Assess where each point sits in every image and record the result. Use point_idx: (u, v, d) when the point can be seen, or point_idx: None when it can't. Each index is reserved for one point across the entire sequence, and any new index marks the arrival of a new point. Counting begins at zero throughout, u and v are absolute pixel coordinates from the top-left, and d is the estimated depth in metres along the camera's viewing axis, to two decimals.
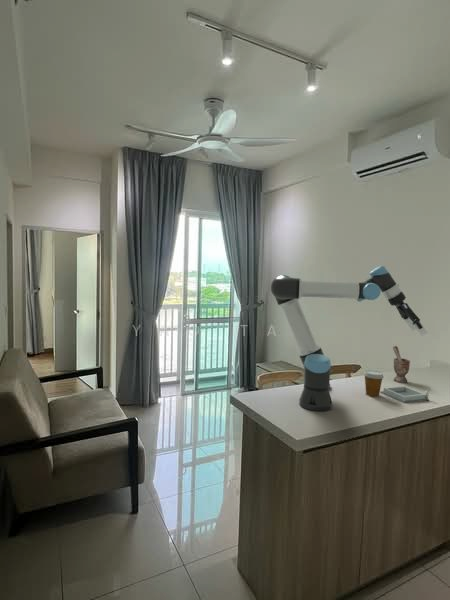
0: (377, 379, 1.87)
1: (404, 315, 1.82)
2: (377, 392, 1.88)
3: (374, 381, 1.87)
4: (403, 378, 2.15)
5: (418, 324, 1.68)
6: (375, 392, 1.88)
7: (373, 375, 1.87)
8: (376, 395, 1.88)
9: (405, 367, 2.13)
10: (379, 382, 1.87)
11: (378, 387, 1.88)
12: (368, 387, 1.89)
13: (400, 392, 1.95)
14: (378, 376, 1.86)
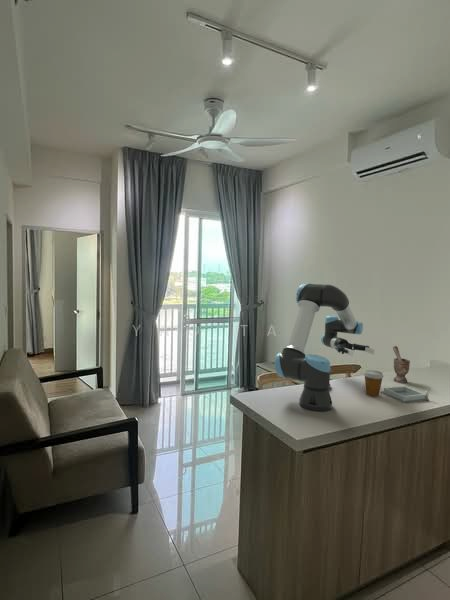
0: (377, 379, 1.87)
1: None
2: (377, 392, 1.88)
3: (374, 381, 1.87)
4: (403, 378, 2.15)
5: None
6: (375, 392, 1.88)
7: (373, 375, 1.87)
8: (376, 395, 1.88)
9: (405, 367, 2.13)
10: (379, 382, 1.87)
11: (378, 387, 1.88)
12: (368, 387, 1.89)
13: (400, 392, 1.95)
14: (378, 376, 1.86)
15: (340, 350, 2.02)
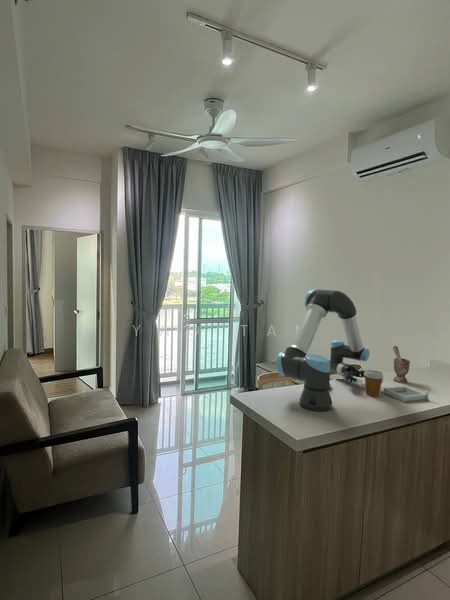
0: (377, 379, 1.87)
1: (352, 376, 1.99)
2: (377, 392, 1.88)
3: (374, 381, 1.87)
4: (403, 378, 2.15)
5: None
6: (375, 392, 1.88)
7: (373, 375, 1.87)
8: (376, 395, 1.88)
9: (405, 367, 2.13)
10: (379, 382, 1.87)
11: (378, 387, 1.88)
12: (368, 387, 1.89)
13: (400, 392, 1.95)
14: (378, 376, 1.86)
15: (348, 378, 1.96)
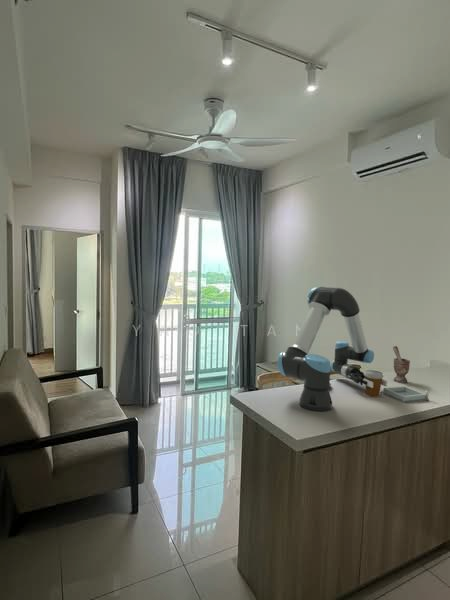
0: (377, 379, 1.87)
1: None
2: (377, 392, 1.88)
3: (374, 381, 1.87)
4: (403, 378, 2.15)
5: None
6: (375, 392, 1.88)
7: (373, 375, 1.87)
8: (376, 395, 1.88)
9: (405, 367, 2.13)
10: (379, 382, 1.87)
11: (378, 387, 1.88)
12: (368, 387, 1.89)
13: (400, 392, 1.95)
14: (378, 376, 1.86)
15: (359, 381, 1.91)
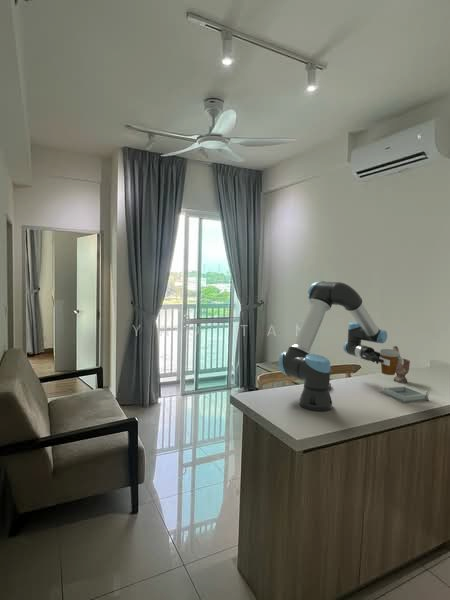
0: (394, 357, 1.87)
1: None
2: (393, 370, 1.88)
3: (390, 359, 1.87)
4: (403, 378, 2.15)
5: None
6: (391, 370, 1.88)
7: (389, 353, 1.86)
8: (392, 373, 1.88)
9: (405, 367, 2.13)
10: (395, 360, 1.87)
11: (394, 365, 1.88)
12: (384, 365, 1.89)
13: (400, 392, 1.95)
14: (394, 354, 1.86)
15: (375, 360, 1.91)
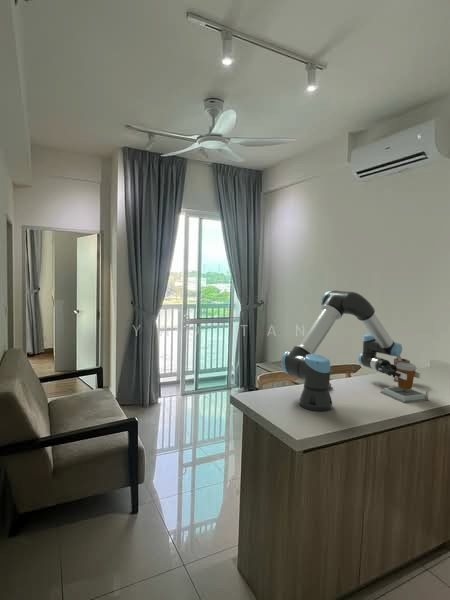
0: (411, 371, 1.86)
1: None
2: (410, 384, 1.87)
3: (407, 373, 1.86)
4: None
5: None
6: (408, 384, 1.87)
7: (406, 367, 1.86)
8: (409, 387, 1.87)
9: None
10: (412, 374, 1.86)
11: (411, 379, 1.87)
12: (401, 379, 1.88)
13: (400, 392, 1.95)
14: (411, 368, 1.85)
15: (391, 373, 1.90)
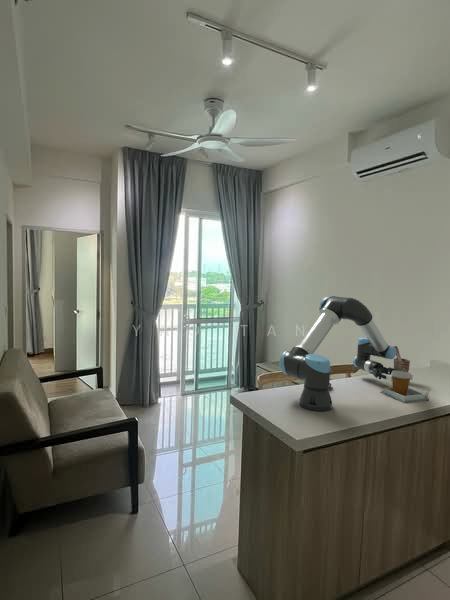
0: (405, 379, 1.86)
1: None
2: (404, 392, 1.87)
3: (401, 381, 1.86)
4: None
5: None
6: (402, 392, 1.87)
7: (401, 375, 1.86)
8: (403, 395, 1.87)
9: (405, 367, 2.13)
10: (407, 382, 1.86)
11: (405, 387, 1.87)
12: (395, 387, 1.88)
13: None
14: (406, 376, 1.85)
15: (377, 375, 1.96)
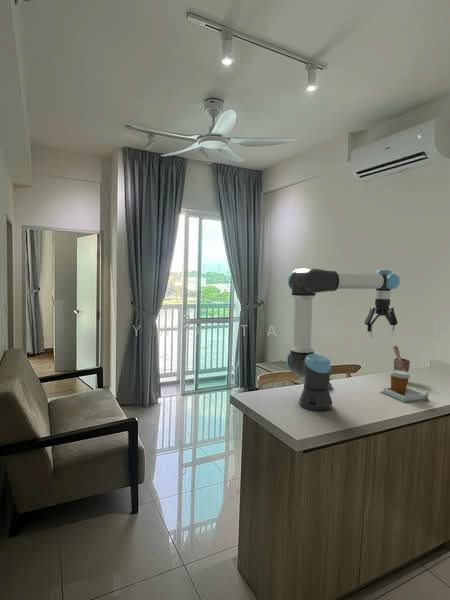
0: (402, 379, 1.86)
1: None
2: (402, 392, 1.87)
3: (398, 380, 1.87)
4: None
5: None
6: (399, 392, 1.87)
7: (398, 374, 1.87)
8: None
9: (405, 367, 2.13)
10: (404, 382, 1.87)
11: (403, 387, 1.87)
12: (393, 386, 1.89)
13: None
14: (403, 375, 1.86)
15: (366, 324, 1.97)
